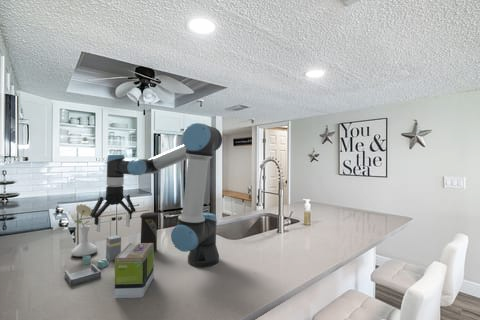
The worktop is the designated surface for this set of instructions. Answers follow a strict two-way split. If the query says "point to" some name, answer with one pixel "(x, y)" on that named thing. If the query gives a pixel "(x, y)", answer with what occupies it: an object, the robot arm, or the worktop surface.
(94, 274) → the grey square tray
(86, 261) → the clip
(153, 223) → the container
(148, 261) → the tea box
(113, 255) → the grey box with stripe
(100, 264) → the clip
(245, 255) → the worktop surface
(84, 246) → the flower in vase
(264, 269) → the worktop surface
